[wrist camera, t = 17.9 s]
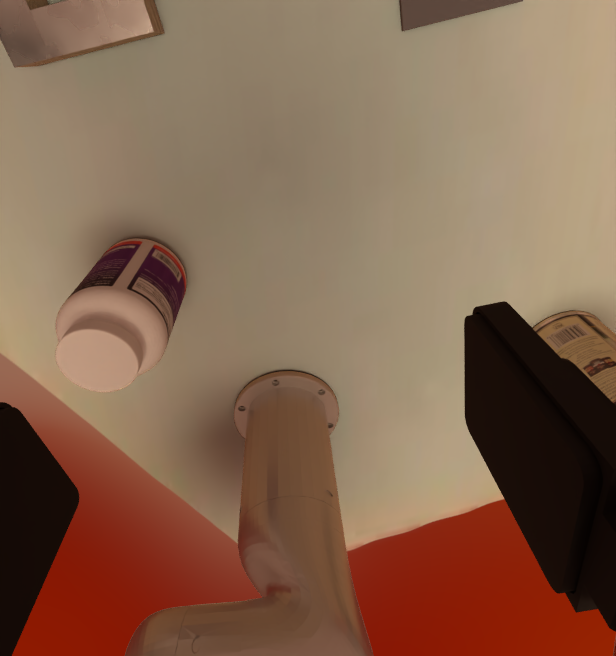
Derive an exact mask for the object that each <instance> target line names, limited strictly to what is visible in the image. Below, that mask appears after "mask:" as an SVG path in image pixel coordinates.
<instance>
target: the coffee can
mask: <svg viewBox="0 0 616 656" xmlns="http://www.w3.org/2000/svg"><path fill="white" fill-rule="evenodd" d="M533 329H534V331H535V332H536V333H537V334H538V335H539V336H540V337H541V338H542V339H543V340H544V341H545V342H546V343H547V344H548V345H549V346H550V347H551V348H552V349H553V350H554V351H555V352H556V353H557V354H558V355H559V356H560V357H561V358H565V359H568V360H570V361H571V362H573V363H574V364H575V365H576V366H577V367H578V368H579V369H580V370H581V371H582V372H583V373H584V374H585V375H586V376H587V377H588V378H589V379H590V380H591V381H592V382H593V383H594V384H595V385H596V386H597V387H598V388H599V389H600V390H601V391H602V392H603V393H604V394H605V395H606V396H607V397H608V398H609V399H610V400H611V401H612V402H613V403H614V404H615V405H616V334H615V333H613V332H612V331H611V330H610V329H608V328H607V327H606V326H605V325H604V324H602V323H601V322H600V320H599V319H598V318H596V317H595V316H594V315H591V314H589V313H586V312H582V311H568V312H563V313H560V314H557V315H554V316H551V317H549V318H547V319H545V320H543V321H542V322H540V323H539V324H537V325H536V326H535V327H534V328H533Z"/></svg>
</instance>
